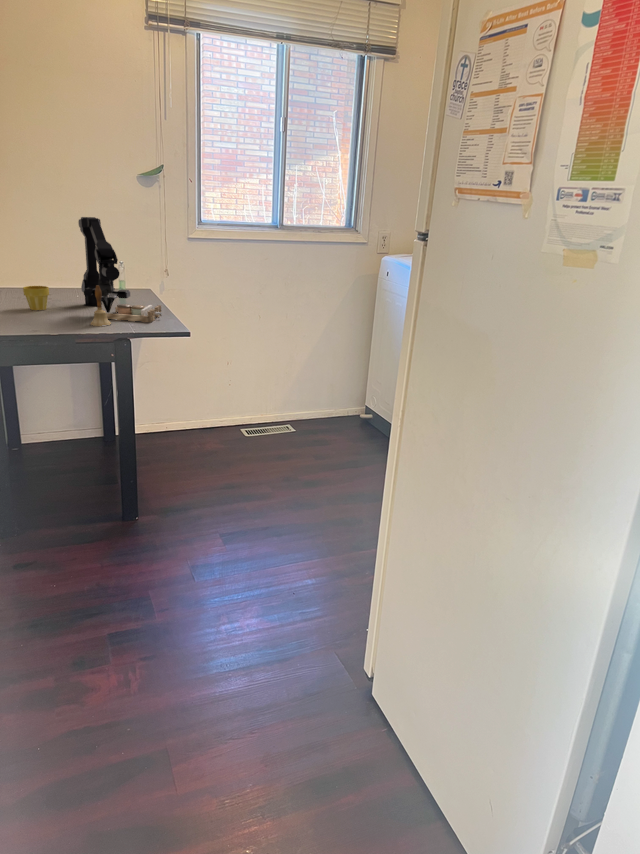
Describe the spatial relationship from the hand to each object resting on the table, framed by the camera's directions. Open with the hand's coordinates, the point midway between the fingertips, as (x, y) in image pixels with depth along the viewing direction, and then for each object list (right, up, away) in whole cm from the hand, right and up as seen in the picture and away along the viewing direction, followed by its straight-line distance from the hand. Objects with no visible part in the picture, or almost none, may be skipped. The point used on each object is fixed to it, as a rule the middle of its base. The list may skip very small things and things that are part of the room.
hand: (108, 312), depth 273 cm
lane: (+11, -2, 0) cm, 11 cm away
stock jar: (+14, -2, 0) cm, 14 cm away
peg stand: (+20, -2, 0) cm, 20 cm away
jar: (+7, -2, 0) cm, 8 cm away
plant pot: (-33, +2, +3) cm, 33 cm away
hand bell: (+3, -8, -16) cm, 19 cm away
